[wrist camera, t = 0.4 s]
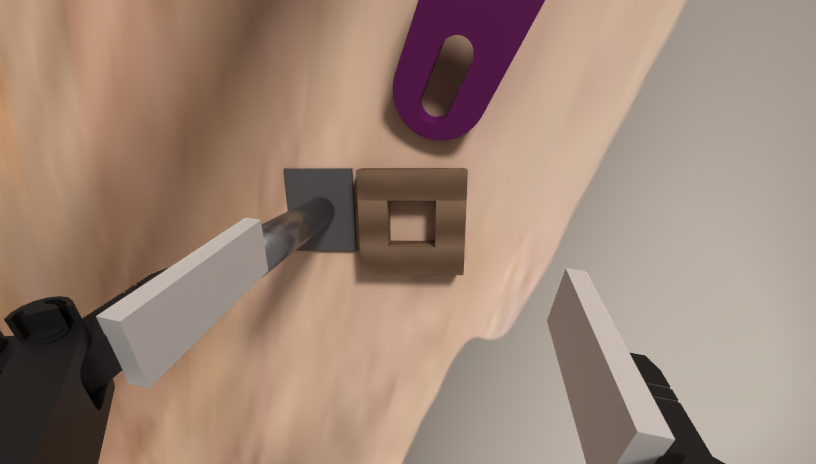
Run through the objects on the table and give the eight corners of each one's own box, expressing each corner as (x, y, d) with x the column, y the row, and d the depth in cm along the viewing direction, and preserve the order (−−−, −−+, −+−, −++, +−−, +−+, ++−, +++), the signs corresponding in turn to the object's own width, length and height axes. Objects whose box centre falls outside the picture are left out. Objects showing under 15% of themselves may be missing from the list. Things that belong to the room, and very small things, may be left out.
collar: (360, 168, 38) (356, 170, 36) (465, 168, 37) (467, 170, 35) (365, 265, 41) (361, 273, 39) (461, 267, 41) (463, 275, 38)
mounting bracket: (468, 124, 42) (561, -51, 30) (460, 154, 35) (574, -53, 23) (401, 92, 41) (468, -100, 29) (380, 116, 35) (455, -115, 23)
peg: (305, 197, 39) (215, 237, 23) (333, 197, 39) (263, 238, 22) (308, 224, 40) (223, 283, 24) (335, 225, 40) (269, 284, 23)
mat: (285, 168, 39) (283, 168, 38) (352, 168, 38) (351, 168, 38) (293, 249, 41) (292, 250, 41) (356, 250, 41) (355, 251, 40)
